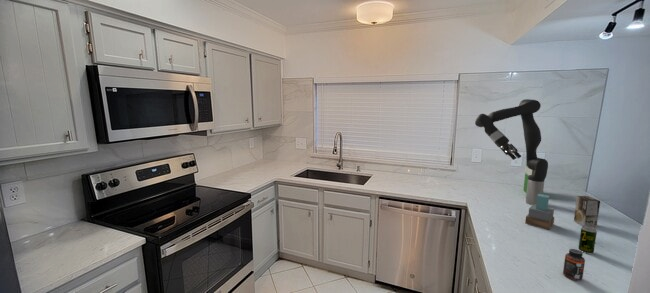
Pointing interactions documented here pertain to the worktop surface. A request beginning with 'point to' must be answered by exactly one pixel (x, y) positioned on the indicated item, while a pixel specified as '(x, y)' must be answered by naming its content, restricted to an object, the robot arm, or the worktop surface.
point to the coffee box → (586, 211)
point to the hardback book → (527, 173)
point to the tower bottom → (539, 222)
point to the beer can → (587, 239)
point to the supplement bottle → (574, 265)
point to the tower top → (541, 213)
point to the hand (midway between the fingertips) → (517, 158)
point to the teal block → (542, 202)
